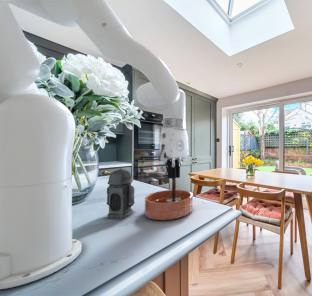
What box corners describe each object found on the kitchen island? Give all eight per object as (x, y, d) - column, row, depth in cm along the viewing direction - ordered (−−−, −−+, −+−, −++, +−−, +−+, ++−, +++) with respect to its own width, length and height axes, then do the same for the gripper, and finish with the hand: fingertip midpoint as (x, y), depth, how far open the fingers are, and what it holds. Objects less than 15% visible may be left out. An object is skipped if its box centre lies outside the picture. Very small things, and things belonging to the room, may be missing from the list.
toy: (139, 211, 57) (139, 167, 57) (127, 219, 51) (127, 170, 51) (115, 210, 58) (115, 167, 57) (101, 217, 52) (101, 169, 52)
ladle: (174, 208, 56) (174, 163, 56) (162, 205, 58) (162, 162, 58) (184, 203, 60) (184, 161, 60) (173, 201, 63) (173, 161, 63)
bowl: (170, 226, 47) (170, 206, 47) (134, 215, 54) (134, 198, 54) (200, 208, 61) (201, 193, 61) (169, 201, 67) (169, 188, 67)
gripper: (165, 122, 50) (165, 183, 51) (196, 127, 64) (195, 175, 64) (148, 123, 54) (147, 180, 54) (180, 128, 67) (180, 173, 68)
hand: (173, 177), depth 59 cm, fingers closed on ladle, 1 cm apart
